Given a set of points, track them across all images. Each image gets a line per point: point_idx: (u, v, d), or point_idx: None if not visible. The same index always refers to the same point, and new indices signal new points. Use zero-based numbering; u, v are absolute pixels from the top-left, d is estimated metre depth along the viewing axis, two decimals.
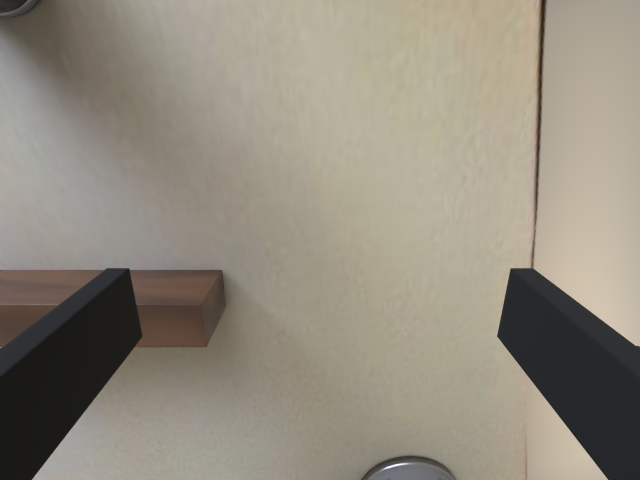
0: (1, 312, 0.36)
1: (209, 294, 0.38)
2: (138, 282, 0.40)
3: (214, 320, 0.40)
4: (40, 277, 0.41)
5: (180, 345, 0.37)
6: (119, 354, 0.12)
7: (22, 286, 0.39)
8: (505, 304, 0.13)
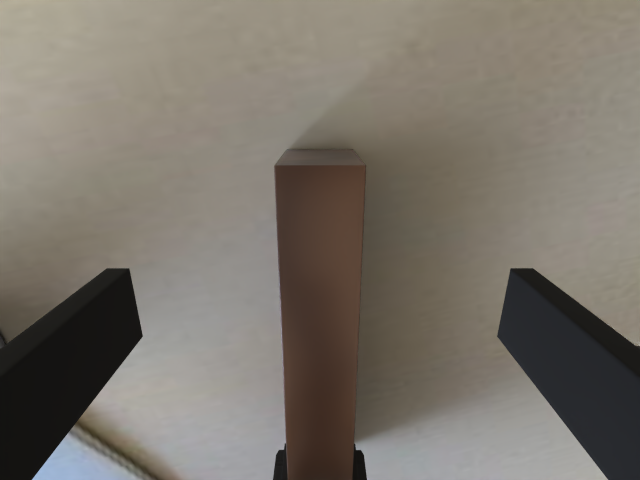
0: (298, 439, 0.27)
1: (285, 158, 0.22)
2: None
3: (342, 157, 0.23)
4: None
5: (360, 212, 0.21)
6: (119, 353, 0.12)
7: None
8: (505, 304, 0.13)
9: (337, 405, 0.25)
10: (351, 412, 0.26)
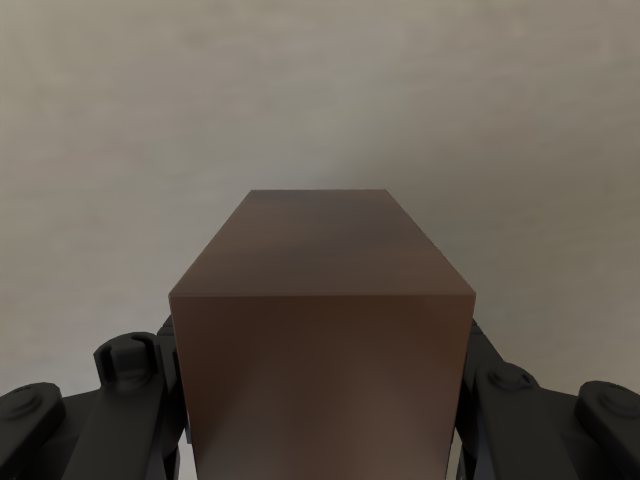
0: None
1: (231, 235, 0.08)
2: None
3: (378, 228, 0.09)
4: None
5: (445, 420, 0.07)
6: None
7: None
8: None
9: None
10: None
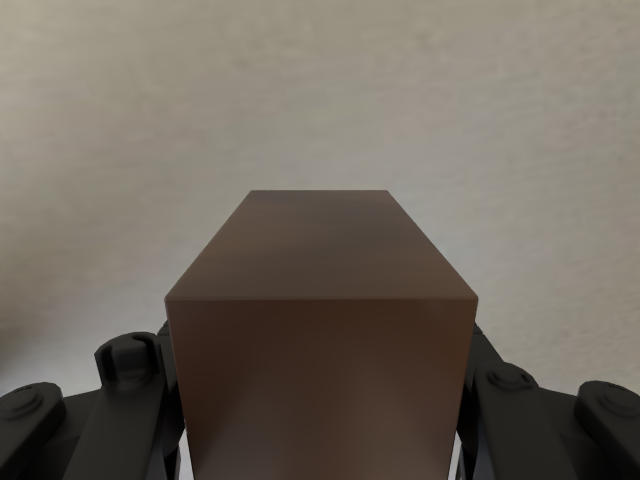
0: None
1: (229, 237, 0.08)
2: None
3: (379, 230, 0.09)
4: None
5: (446, 426, 0.07)
6: None
7: None
8: None
9: None
10: None
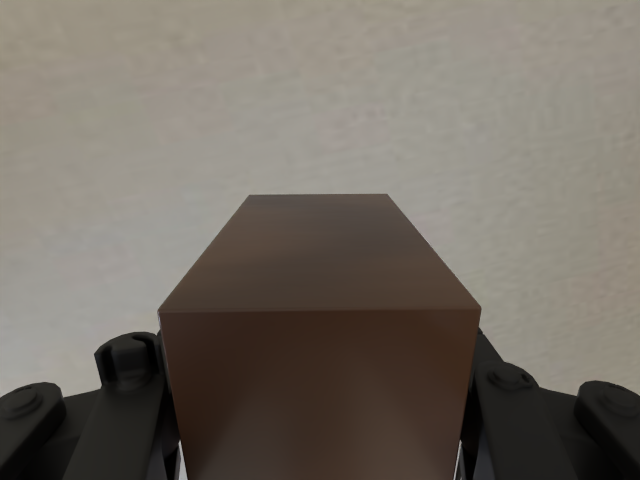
0: None
1: (225, 244, 0.08)
2: None
3: (379, 236, 0.09)
4: None
5: (449, 439, 0.06)
6: None
7: None
8: None
9: None
10: None
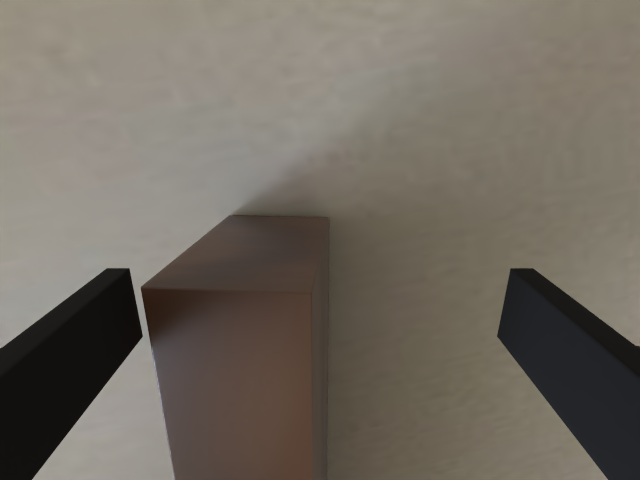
0: None
1: (193, 252, 0.13)
2: None
3: (292, 250, 0.13)
4: None
5: (305, 372, 0.11)
6: (119, 354, 0.12)
7: None
8: (505, 304, 0.13)
9: None
10: None
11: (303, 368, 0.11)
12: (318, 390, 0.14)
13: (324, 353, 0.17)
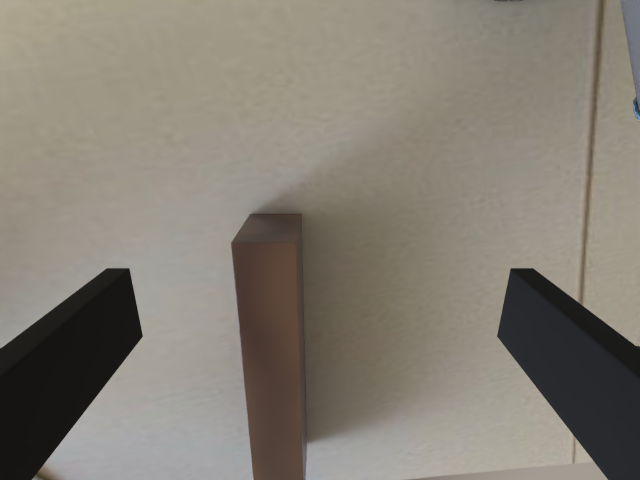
0: (258, 438, 0.34)
1: (243, 231, 0.30)
2: None
3: (286, 229, 0.31)
4: None
5: (294, 274, 0.29)
6: (119, 354, 0.12)
7: None
8: (505, 304, 0.13)
9: (287, 412, 0.33)
10: (298, 417, 0.34)
11: (293, 272, 0.28)
12: (299, 289, 0.31)
13: (301, 280, 0.34)
